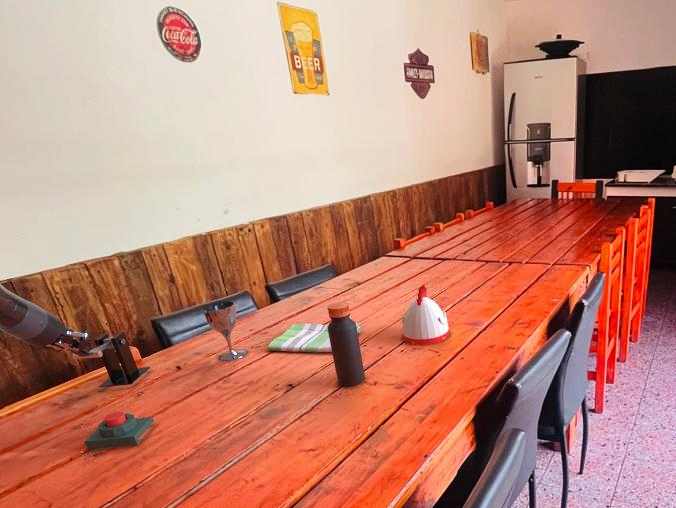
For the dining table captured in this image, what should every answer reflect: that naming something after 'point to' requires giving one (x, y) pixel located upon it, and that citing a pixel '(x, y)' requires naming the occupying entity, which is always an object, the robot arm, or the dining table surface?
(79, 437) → the dining table surface
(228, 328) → the silver goblet
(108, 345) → the lever handle
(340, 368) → the bottle
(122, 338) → the black lever stand
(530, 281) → the dining table surface
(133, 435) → the button housing
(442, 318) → the kitchen timer
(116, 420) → the button
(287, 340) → the dish towel
